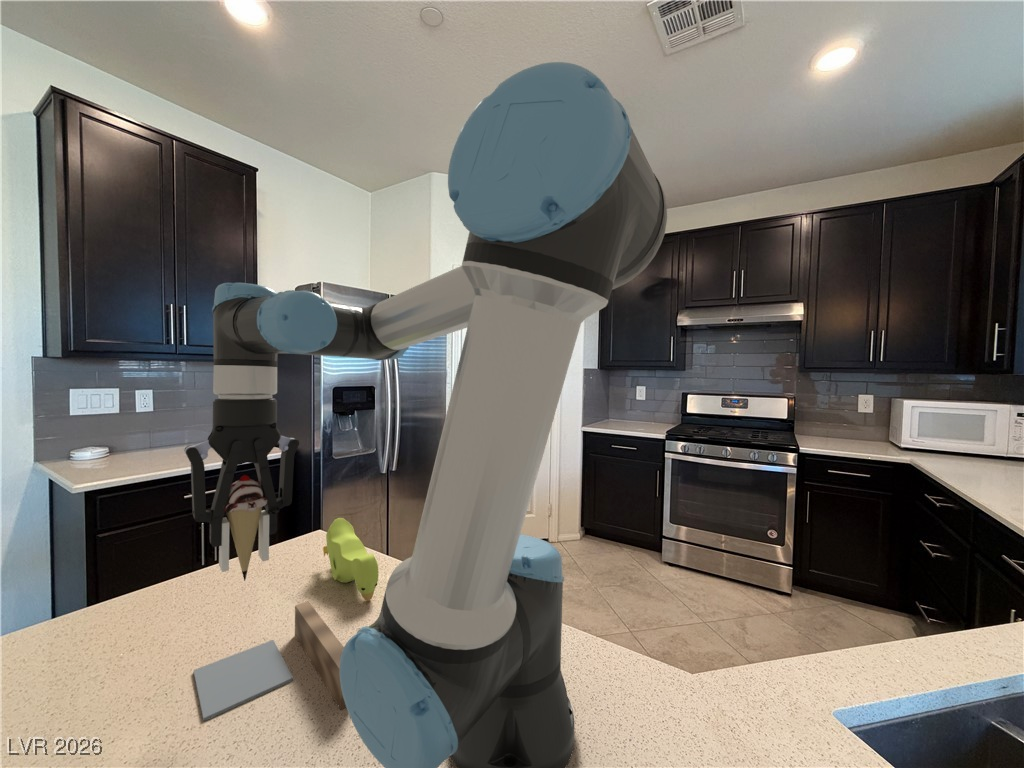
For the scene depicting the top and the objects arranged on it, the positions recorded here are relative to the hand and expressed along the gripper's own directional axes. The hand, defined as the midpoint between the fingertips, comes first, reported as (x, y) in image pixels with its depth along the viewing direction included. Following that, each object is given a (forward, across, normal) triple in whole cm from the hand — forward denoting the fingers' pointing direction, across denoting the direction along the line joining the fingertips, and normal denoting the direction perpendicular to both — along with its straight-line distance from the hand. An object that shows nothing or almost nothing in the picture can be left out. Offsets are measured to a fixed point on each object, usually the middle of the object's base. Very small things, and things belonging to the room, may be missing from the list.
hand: (244, 562), depth 56 cm
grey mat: (+16, 0, 0) cm, 16 cm away
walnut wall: (+16, -9, +5) cm, 19 cm away
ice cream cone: (+3, 0, 0) cm, 3 cm away
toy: (+17, -21, -16) cm, 32 cm away
